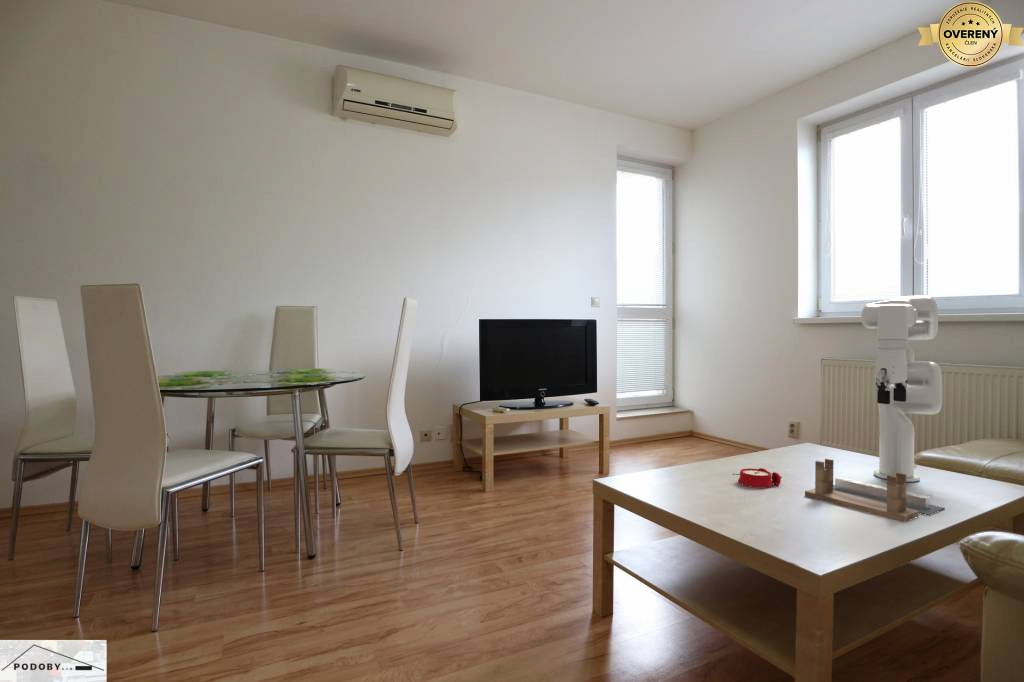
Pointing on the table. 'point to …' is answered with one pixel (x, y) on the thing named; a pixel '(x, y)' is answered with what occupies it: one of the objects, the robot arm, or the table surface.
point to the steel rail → (880, 492)
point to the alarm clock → (758, 478)
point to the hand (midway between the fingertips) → (891, 402)
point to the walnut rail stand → (891, 509)
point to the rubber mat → (922, 511)
